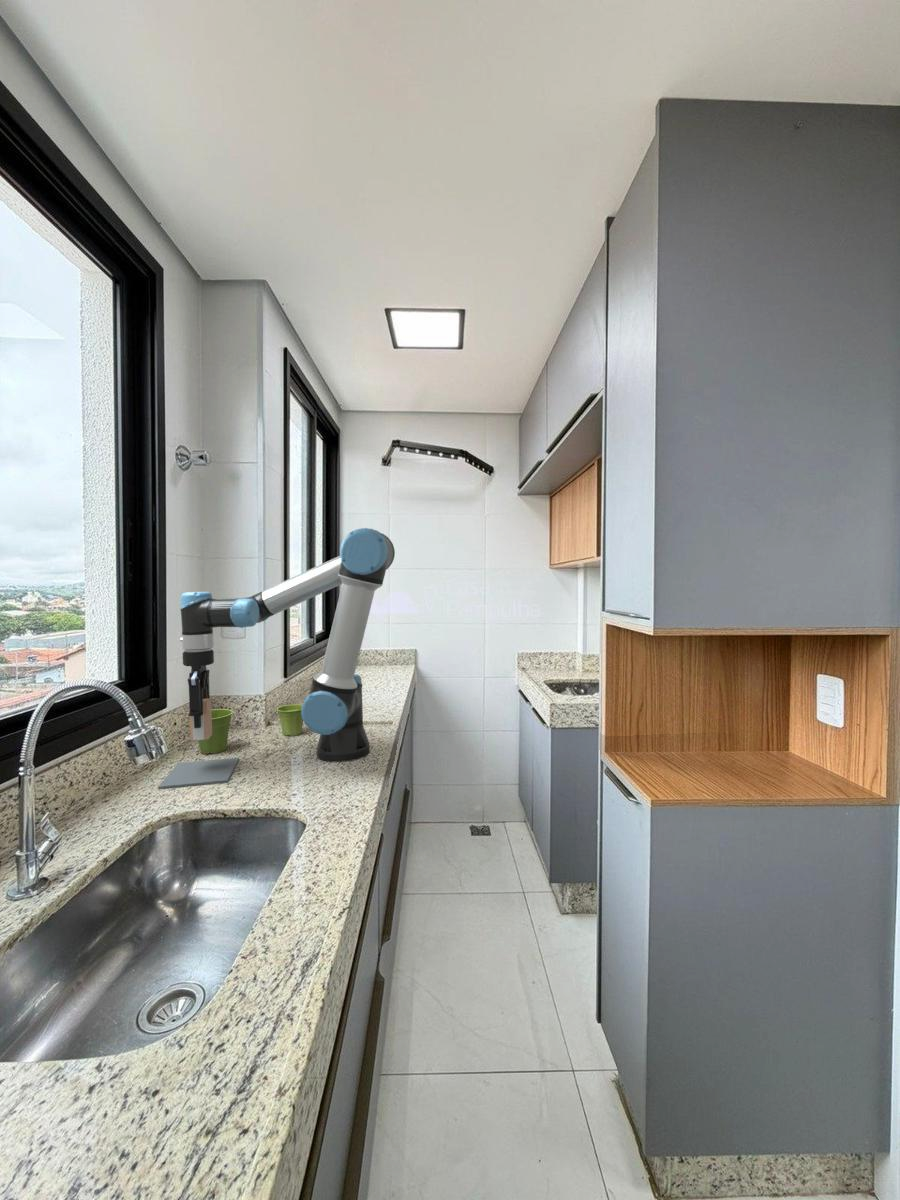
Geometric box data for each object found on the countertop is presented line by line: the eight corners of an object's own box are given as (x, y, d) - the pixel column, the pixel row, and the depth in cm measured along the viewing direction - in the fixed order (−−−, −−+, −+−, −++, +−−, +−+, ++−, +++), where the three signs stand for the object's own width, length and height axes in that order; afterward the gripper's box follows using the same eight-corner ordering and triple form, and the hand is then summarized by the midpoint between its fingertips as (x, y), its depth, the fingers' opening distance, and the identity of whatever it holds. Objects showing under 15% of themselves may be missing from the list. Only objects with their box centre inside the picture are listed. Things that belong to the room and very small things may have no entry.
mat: (239, 759, 156) (239, 757, 155) (227, 782, 138) (227, 780, 138) (178, 765, 152) (178, 762, 152) (158, 789, 135) (158, 786, 135)
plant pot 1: (182, 756, 160) (181, 718, 159) (207, 744, 171) (206, 708, 171) (219, 758, 157) (218, 719, 157) (242, 745, 169) (241, 709, 169)
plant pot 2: (299, 728, 187) (298, 702, 187) (312, 733, 180) (311, 707, 180) (273, 733, 181) (272, 707, 181) (284, 739, 174) (283, 712, 174)
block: (212, 734, 149) (210, 698, 149) (208, 739, 145) (207, 701, 144) (194, 735, 148) (193, 699, 148) (190, 740, 144) (188, 702, 144)
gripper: (191, 646, 153) (194, 728, 154) (173, 655, 136) (177, 747, 137) (219, 645, 155) (222, 727, 156) (205, 653, 138) (209, 745, 139)
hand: (201, 736), depth 147 cm, fingers closed on block, 4 cm apart
